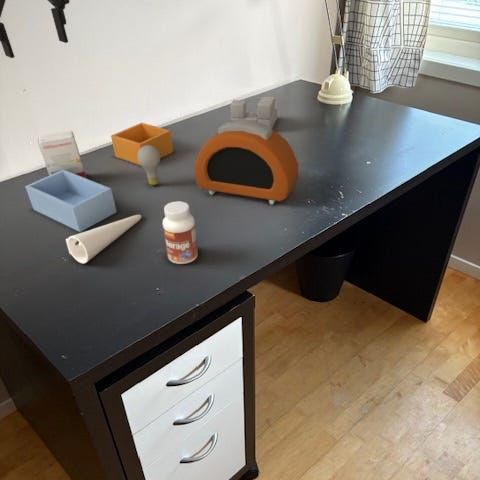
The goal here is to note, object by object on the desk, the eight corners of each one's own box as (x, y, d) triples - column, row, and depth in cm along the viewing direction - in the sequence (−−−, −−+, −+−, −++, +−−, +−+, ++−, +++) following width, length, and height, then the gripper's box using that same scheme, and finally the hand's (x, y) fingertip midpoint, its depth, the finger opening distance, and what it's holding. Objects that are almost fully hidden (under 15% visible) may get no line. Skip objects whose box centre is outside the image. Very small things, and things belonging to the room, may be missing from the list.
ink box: (85, 174, 126) (73, 129, 118) (87, 182, 123) (75, 136, 115) (51, 180, 124) (36, 135, 116) (52, 188, 121) (37, 142, 113)
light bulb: (143, 181, 122) (136, 142, 116) (164, 179, 123) (158, 140, 116) (142, 190, 118) (134, 151, 112) (164, 189, 119) (158, 149, 112)
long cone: (160, 232, 106) (90, 267, 94) (140, 227, 110) (70, 259, 97) (156, 208, 103) (83, 240, 91) (136, 203, 107) (63, 233, 94)
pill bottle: (163, 264, 94) (155, 214, 87) (172, 246, 99) (165, 198, 92) (194, 266, 94) (188, 216, 86) (201, 248, 98) (196, 200, 91)
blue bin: (33, 209, 113) (25, 186, 109) (70, 192, 119) (63, 169, 115) (80, 232, 105) (72, 207, 101) (116, 212, 111) (111, 188, 107)
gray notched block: (277, 118, 152) (277, 92, 146) (270, 133, 143) (270, 105, 138) (240, 117, 154) (239, 91, 149) (231, 131, 145) (230, 103, 140)
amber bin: (115, 156, 134) (110, 135, 130) (145, 143, 141) (141, 122, 137) (143, 166, 129) (139, 144, 125) (173, 151, 135) (170, 130, 131)
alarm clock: (195, 193, 116) (187, 124, 105) (210, 178, 122) (204, 110, 111) (287, 208, 109) (289, 135, 98) (298, 190, 115) (301, 120, 104)
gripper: (-54, -61, 85) (-7, 66, 100) (67, -78, 97) (93, 38, 113) (-70, -65, 89) (-23, 59, 104) (48, -80, 101) (75, 33, 116)
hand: (37, 49), depth 108 cm, fingers open, 13 cm apart
